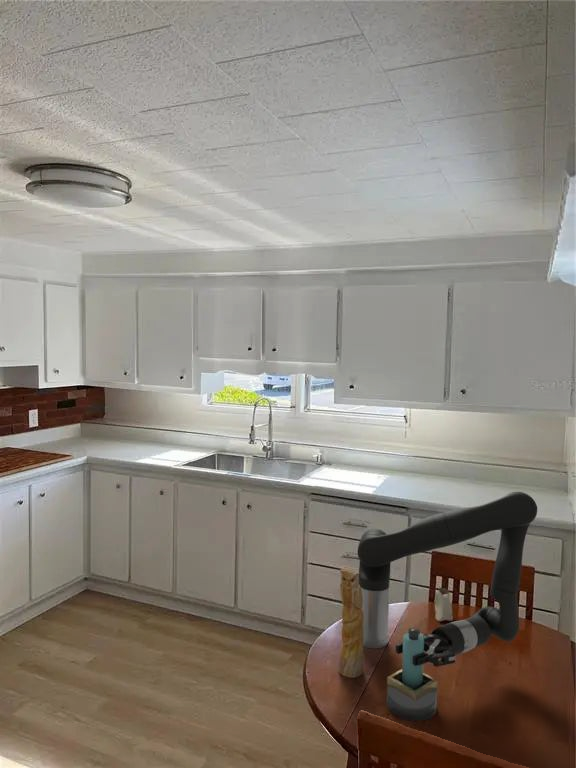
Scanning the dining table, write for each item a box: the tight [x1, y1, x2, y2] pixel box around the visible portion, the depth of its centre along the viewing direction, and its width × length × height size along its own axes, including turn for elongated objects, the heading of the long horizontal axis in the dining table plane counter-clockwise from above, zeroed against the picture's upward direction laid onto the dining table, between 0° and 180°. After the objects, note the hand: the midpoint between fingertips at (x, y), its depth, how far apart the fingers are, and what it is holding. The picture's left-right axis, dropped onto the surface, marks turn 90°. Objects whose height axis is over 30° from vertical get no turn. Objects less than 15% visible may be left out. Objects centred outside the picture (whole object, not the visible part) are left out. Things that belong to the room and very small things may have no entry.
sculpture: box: [338, 568, 364, 679], centre depth 155 cm, size 7×9×30 cm
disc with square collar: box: [386, 668, 438, 722], centre depth 143 cm, size 12×12×7 cm
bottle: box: [401, 626, 425, 690], centre depth 142 cm, size 5×5×14 cm
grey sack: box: [433, 587, 454, 622], centre depth 189 cm, size 9×8×10 cm
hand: (405, 655), depth 141 cm, fingers open, 5 cm apart
